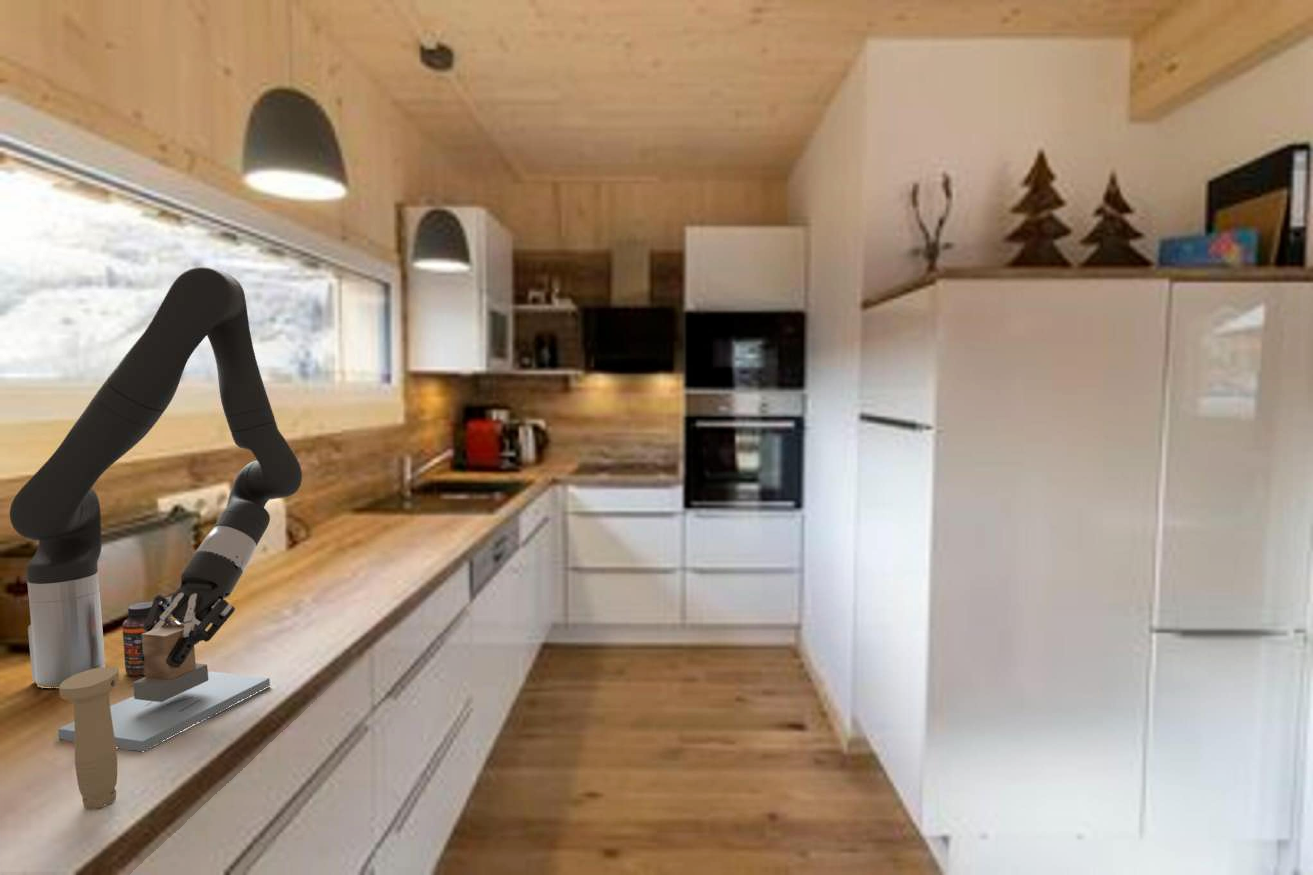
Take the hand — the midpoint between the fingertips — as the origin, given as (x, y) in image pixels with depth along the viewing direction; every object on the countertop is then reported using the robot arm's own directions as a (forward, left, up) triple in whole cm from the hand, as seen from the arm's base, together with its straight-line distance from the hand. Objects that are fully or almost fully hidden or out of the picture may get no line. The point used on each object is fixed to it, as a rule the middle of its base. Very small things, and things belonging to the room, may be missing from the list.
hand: (158, 663), depth 113 cm
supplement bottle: (-19, +14, -8) cm, 25 cm away
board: (0, +2, -8) cm, 8 cm away
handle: (+14, -20, -8) cm, 26 cm away
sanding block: (0, +2, -5) cm, 5 cm away
